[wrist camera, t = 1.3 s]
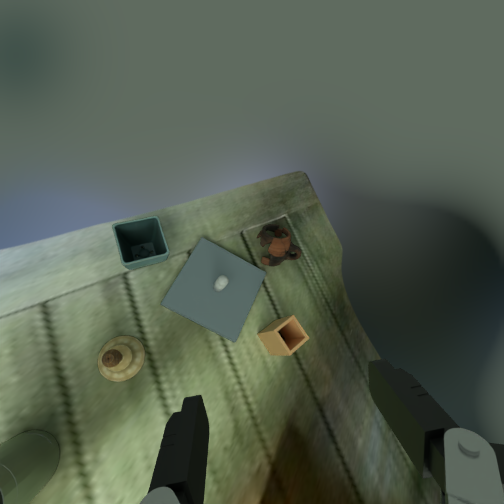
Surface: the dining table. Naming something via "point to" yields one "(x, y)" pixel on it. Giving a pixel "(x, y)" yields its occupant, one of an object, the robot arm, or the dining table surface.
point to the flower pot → (140, 242)
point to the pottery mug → (278, 245)
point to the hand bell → (121, 358)
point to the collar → (289, 331)
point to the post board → (209, 301)
